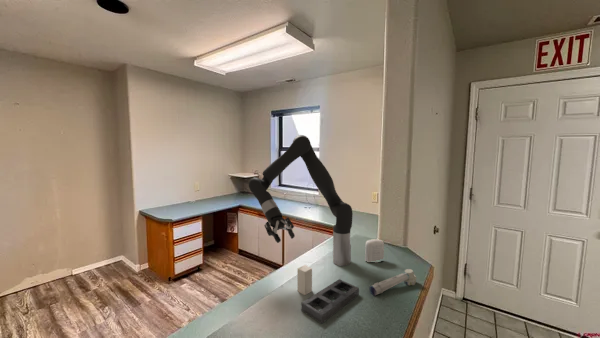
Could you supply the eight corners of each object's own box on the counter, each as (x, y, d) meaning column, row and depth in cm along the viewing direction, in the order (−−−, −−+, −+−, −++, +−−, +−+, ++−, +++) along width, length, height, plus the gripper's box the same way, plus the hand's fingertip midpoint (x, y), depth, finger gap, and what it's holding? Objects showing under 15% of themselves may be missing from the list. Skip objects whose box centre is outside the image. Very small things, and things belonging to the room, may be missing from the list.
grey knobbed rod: (367, 283, 100) (408, 264, 111) (368, 297, 101) (409, 277, 111) (376, 289, 96) (418, 269, 106) (377, 304, 96) (419, 282, 107)
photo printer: (381, 259, 133) (381, 237, 132) (384, 262, 128) (385, 240, 128) (363, 260, 131) (364, 238, 131) (367, 263, 127) (367, 241, 126)
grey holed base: (339, 285, 105) (339, 279, 105) (358, 295, 98) (358, 288, 98) (301, 310, 88) (301, 302, 88) (321, 323, 81) (321, 315, 81)
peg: (304, 287, 104) (304, 265, 104) (311, 291, 101) (312, 268, 101) (297, 291, 101) (297, 268, 101) (304, 295, 98) (304, 271, 97)
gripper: (262, 208, 109) (278, 239, 101) (285, 204, 119) (301, 232, 111) (256, 217, 113) (270, 247, 105) (279, 213, 123) (293, 240, 115)
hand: (286, 239), depth 108 cm, fingers open, 8 cm apart
